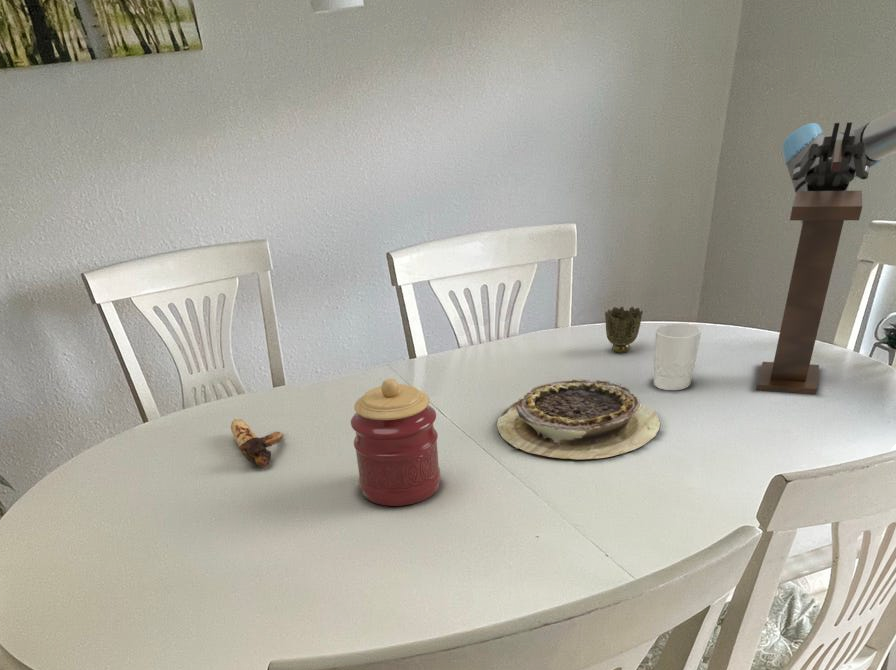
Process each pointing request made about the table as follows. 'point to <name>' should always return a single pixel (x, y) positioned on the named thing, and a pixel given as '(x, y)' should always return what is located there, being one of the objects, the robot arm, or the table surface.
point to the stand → (808, 288)
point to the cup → (622, 327)
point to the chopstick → (837, 156)
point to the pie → (578, 420)
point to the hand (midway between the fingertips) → (841, 131)
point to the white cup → (675, 355)
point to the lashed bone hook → (254, 442)
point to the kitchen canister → (396, 445)
